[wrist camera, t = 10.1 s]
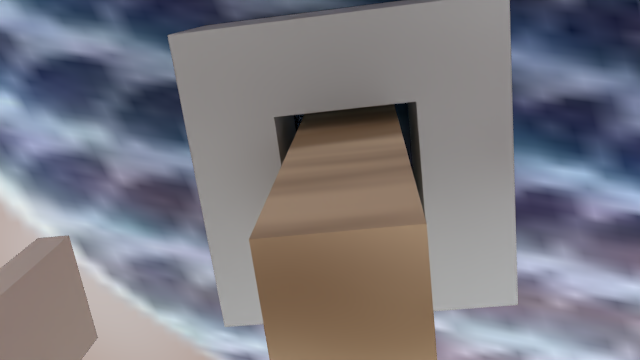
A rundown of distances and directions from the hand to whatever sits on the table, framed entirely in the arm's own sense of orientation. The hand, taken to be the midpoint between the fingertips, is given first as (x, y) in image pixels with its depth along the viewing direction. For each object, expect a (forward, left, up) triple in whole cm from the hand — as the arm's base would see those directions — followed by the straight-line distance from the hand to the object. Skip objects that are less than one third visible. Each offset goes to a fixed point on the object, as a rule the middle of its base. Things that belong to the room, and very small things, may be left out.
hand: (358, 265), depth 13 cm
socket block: (0, 0, -13) cm, 13 cm away
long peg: (0, 0, -13) cm, 13 cm away
